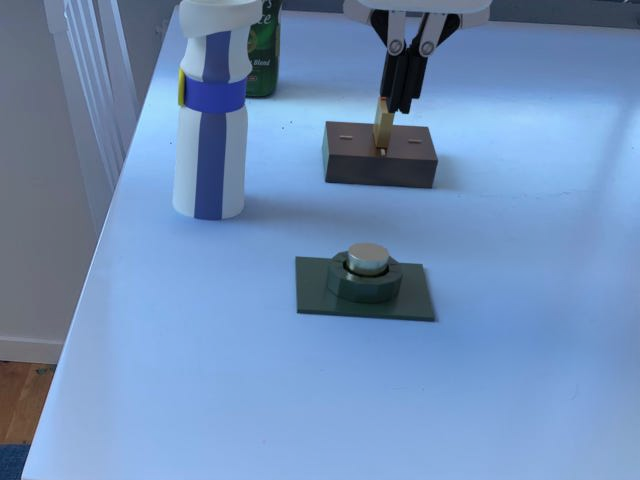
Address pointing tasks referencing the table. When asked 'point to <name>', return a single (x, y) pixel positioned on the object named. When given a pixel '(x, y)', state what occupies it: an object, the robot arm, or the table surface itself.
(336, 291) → the dark green button base
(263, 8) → the coffee jar
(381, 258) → the bell button
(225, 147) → the water bottle
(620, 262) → the table surface
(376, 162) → the lock plate
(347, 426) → the table surface
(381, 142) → the lock knob
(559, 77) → the table surface
